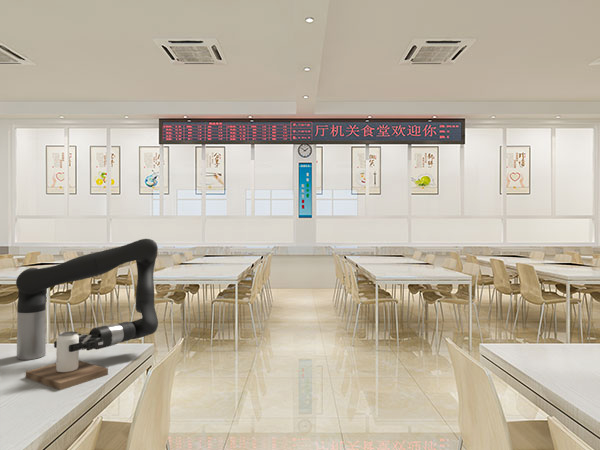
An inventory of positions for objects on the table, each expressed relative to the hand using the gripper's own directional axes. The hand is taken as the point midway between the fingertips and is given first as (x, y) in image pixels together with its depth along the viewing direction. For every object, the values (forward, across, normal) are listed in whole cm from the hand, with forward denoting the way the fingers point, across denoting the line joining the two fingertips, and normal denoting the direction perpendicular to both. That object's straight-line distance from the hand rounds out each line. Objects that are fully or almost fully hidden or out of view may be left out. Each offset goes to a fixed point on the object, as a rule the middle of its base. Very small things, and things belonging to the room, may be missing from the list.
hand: (61, 346), depth 142 cm
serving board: (-2, 0, +10) cm, 10 cm away
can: (-2, 0, +8) cm, 9 cm away
